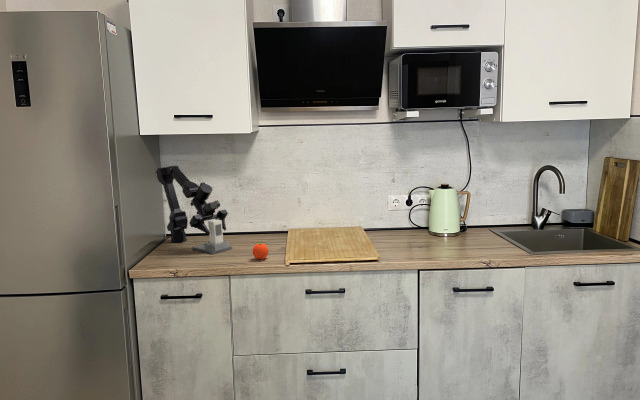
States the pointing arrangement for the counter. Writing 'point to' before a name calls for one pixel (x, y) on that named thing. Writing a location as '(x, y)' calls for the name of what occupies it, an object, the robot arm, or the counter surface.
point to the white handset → (215, 231)
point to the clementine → (260, 251)
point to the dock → (213, 247)
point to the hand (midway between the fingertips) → (217, 232)
